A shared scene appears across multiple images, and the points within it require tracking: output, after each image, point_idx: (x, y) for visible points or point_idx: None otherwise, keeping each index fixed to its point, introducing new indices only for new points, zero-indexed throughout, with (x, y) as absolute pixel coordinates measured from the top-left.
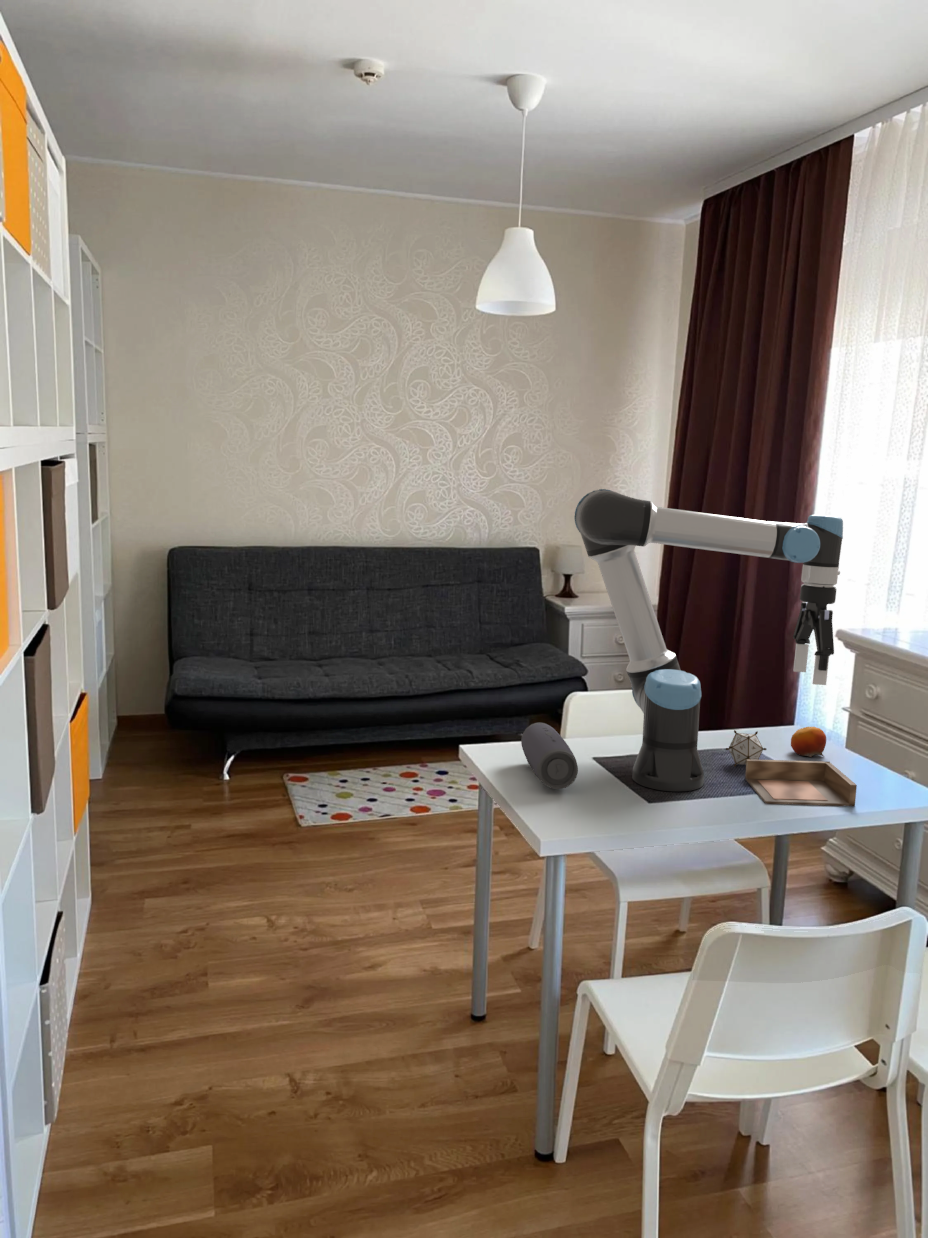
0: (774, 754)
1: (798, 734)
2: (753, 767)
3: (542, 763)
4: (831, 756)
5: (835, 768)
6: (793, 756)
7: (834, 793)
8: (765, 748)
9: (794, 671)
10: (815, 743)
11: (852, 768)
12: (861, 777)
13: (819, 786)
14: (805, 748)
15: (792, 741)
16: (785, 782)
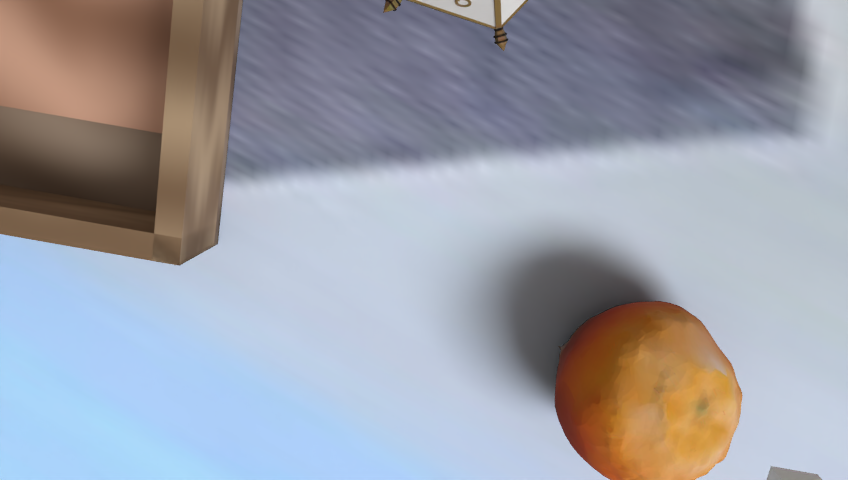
0: (647, 200)
1: (634, 335)
2: None
3: None
4: None
5: (65, 236)
6: (602, 279)
7: (21, 173)
8: (387, 3)
9: (770, 471)
10: (559, 387)
11: (398, 450)
12: (273, 419)
13: (112, 154)
14: (577, 336)
15: (655, 305)
16: (155, 13)
